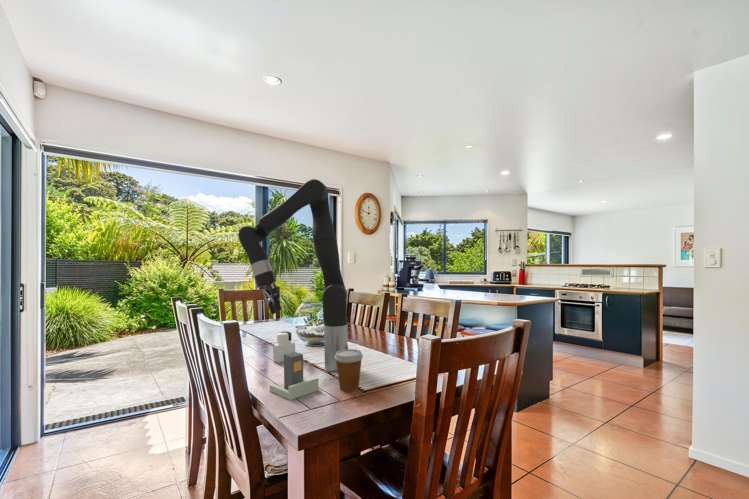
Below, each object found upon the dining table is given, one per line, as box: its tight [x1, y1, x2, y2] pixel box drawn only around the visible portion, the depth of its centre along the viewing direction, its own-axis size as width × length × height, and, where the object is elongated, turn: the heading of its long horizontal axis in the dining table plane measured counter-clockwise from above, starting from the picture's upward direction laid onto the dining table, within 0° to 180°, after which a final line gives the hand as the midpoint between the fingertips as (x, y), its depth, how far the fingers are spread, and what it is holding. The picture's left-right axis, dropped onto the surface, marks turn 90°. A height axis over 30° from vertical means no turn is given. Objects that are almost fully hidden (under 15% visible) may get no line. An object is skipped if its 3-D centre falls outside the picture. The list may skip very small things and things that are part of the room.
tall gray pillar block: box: [283, 351, 304, 390], centre depth 124 cm, size 5×4×12 cm
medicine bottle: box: [273, 331, 296, 363], centre depth 160 cm, size 7×7×12 cm
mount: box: [269, 377, 320, 401], centre depth 124 cm, size 12×11×4 cm
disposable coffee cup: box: [335, 348, 364, 393], centre depth 125 cm, size 10×10×12 cm
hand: (276, 312), depth 145 cm, fingers open, 8 cm apart
